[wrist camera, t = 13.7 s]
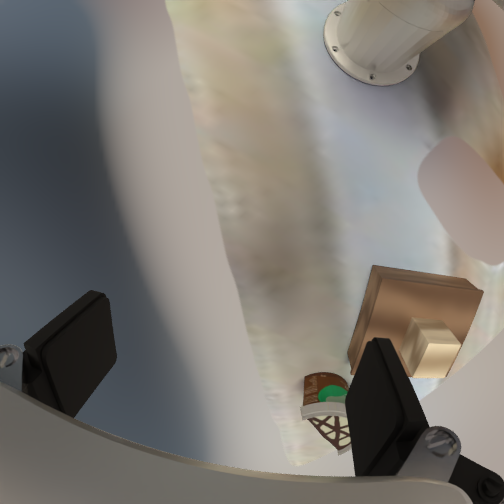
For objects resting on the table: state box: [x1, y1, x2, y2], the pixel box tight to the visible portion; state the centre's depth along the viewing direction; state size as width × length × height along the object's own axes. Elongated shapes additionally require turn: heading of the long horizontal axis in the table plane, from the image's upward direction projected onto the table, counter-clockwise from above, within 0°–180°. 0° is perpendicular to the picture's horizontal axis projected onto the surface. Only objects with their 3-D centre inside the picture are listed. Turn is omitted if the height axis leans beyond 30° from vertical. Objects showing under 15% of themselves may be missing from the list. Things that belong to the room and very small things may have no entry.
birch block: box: [399, 317, 461, 378], centre depth 31 cm, size 5×5×6 cm
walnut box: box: [347, 265, 484, 377], centre depth 36 cm, size 14×16×5 cm
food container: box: [300, 372, 352, 455], centre depth 39 cm, size 12×6×10 cm, turn 35°
